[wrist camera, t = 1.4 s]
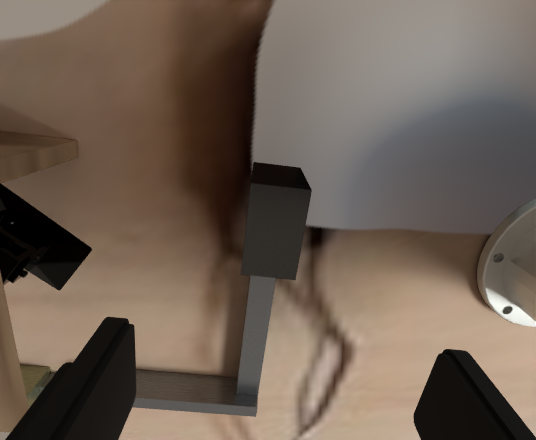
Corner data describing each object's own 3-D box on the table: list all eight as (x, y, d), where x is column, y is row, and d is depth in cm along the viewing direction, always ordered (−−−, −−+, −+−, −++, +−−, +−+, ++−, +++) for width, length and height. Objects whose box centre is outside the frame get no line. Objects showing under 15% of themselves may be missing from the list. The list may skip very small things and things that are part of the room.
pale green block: (92, 370, 31) (69, 408, 27) (94, 393, 32) (72, 432, 28) (6, 363, 30) (-30, 400, 27) (12, 386, 31) (-22, 425, 28)
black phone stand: (119, 250, 27) (92, 280, 23) (73, 303, 29) (40, 340, 24) (-25, 149, 24) (-89, 162, 19) (-66, 216, 25) (-133, 242, 21)
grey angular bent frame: (84, 141, 23) (26, 156, 17) (300, 167, 24) (311, 190, 18) (103, 376, 31) (68, 437, 26) (263, 389, 32) (264, 451, 26)
